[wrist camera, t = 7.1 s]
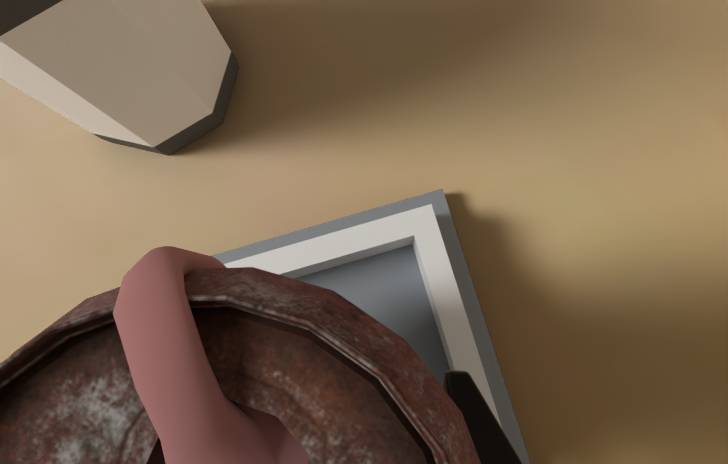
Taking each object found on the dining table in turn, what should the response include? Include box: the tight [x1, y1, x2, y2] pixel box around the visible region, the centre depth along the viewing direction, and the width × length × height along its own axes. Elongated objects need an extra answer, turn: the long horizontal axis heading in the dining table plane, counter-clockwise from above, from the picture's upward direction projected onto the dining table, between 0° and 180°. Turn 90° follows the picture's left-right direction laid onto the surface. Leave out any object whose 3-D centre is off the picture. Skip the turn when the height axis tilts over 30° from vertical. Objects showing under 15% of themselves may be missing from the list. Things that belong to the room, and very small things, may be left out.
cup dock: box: [211, 189, 531, 464], centre depth 21 cm, size 13×13×4 cm
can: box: [0, 246, 481, 464], centre depth 11 cm, size 6×6×14 cm
